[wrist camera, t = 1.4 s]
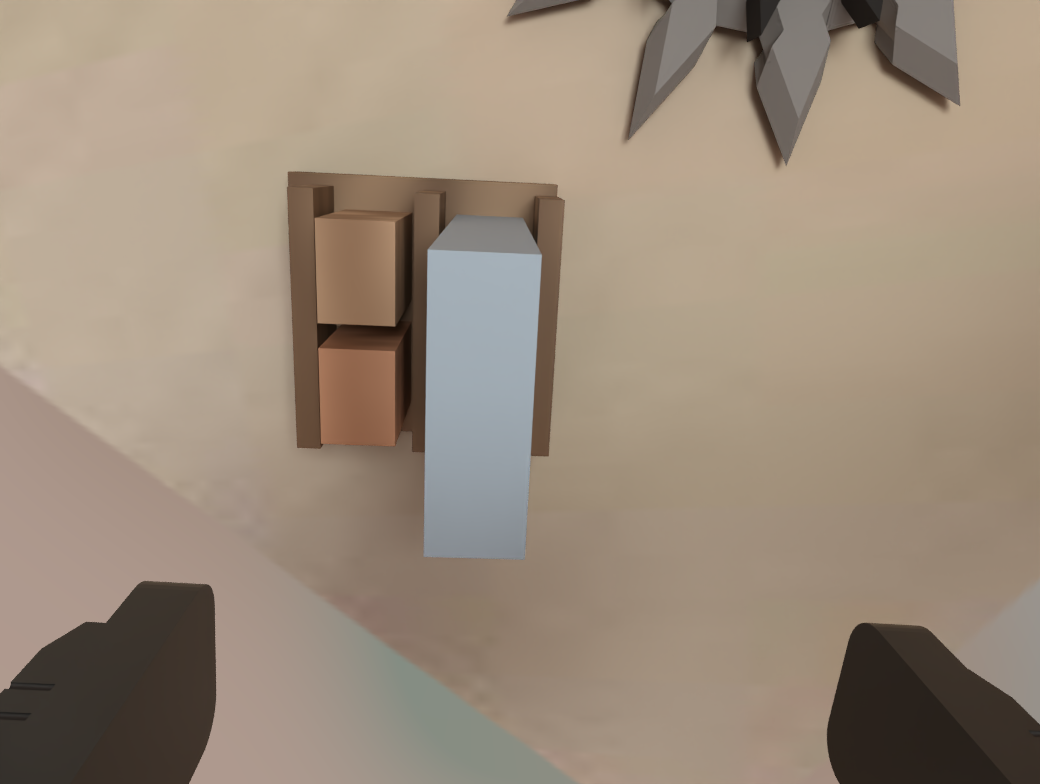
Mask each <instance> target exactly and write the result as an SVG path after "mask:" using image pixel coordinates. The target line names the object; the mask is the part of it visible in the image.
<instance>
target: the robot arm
mask: <svg viewBox="0 0 1040 784" xmlns="http://www.w3.org/2000/svg"><path fill="white" fill-rule="evenodd" d="M215 663H216V659H215V605H214V594H213V591H212V588H211V587H210V586H209V585H207V584H188V583H172V582H153V581H143V582H141V583H140V584H138V585H137V586H136V587H135V589H134V590H133V591H132V592H131V593H130V595H129V596H128V597H127V598H126V599H125V601H124V602H123V603H122V604H121V606H120V607H119V608H118V609H117V610H116V611H115V613H114V614H113V615H112V616H111V618H110V619H109V620H108V621H107V623H97V622H85V623H83V624H82V625H80V626H78V627H77V628H75V629H73V630H72V631H70V632H68V633H67V634H65V635H64V636H62V637H60V638H58V639H57V640H55V641H54V642H52V643H50V644H48V645H47V646H45V647H44V648H42V649H41V650H40V651H39V652H38V653H37V654H36V655H35V656H34V658H33V659H32V660H31V661H30V662H29V663H28V664H27V665H26V666H25V668H23V669H22V671H21V672H20V673H19V674H18V675H17V676H16V677H15V678H14V679H13V680H12V682H11V686H10V688H9V689H4V690H3V691H2V692H1V693H0V784H189V782H190V780H191V778H192V776H193V774H194V772H195V770H196V768H197V765H198V763H199V761H200V759H201V757H202V755H203V752H204V750H205V748H206V745H207V742H208V739H209V736H210V732H211V728H212V723H213V718H214V712H215V703H216V664H215ZM827 745H828V753H829V758H830V762H831V765H832V768H833V771H834V773H835V776H836V778H837V780H838V782H839V783H840V784H1040V724H1039V723H1037V721H1036V720H1035V719H1033V718H1032V717H1031V716H1030V715H1029V714H1028V713H1027V712H1026V711H1025V710H1024V709H1023V708H1022V707H1021V706H1020V705H1019V704H1018V703H1017V702H1016V701H1015V700H1014V699H1013V698H1012V697H1010V696H1009V695H1007V694H1006V693H1004V692H1003V691H1001V690H1000V689H998V688H997V687H995V686H994V685H992V684H990V683H989V682H987V681H985V680H984V679H983V678H981V677H980V676H978V675H977V674H975V673H974V672H972V671H970V670H969V669H967V668H966V667H965V666H964V665H963V664H962V663H961V662H960V661H959V660H958V659H957V658H956V657H955V656H954V655H953V654H952V653H951V652H950V651H949V650H948V649H947V648H946V647H945V646H944V645H943V644H942V643H941V642H940V641H939V640H938V639H937V638H936V637H935V636H934V635H933V633H931V632H930V631H929V630H928V629H926V628H924V627H921V626H912V625H894V624H876V623H861V624H859V625H858V626H856V627H855V628H854V630H853V631H852V633H851V635H850V638H849V642H848V646H847V650H846V654H845V658H844V662H843V666H842V670H841V674H840V678H839V682H838V686H837V690H836V694H835V698H834V702H833V706H832V710H831V714H830V718H829V722H828V728H827Z"/></svg>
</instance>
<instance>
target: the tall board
mask: <svg viewBox="0 0 1040 784" xmlns="http://www.w3.org/2000/svg"><path fill="white" fill-rule="evenodd" d="M541 261H542V254H541V252H540V250H539V248H538V246H537V244H536V242H535V240H534V239H533V237H532V235H531V233H530V231H529V229H528V227H527V225H526V223H525V221H524V219H523V218H518V217H497V216H476V215H456V216H455V217H454V218H453V220H452V221H451V222H450V223H449V224H448V226H447V227H446V228H445V229H444V230H443V232H442V233H441V234H440V235H439V236H438V238H437V239H436V240H435V241H434V242H433V244H432V245H431V246H430V247H429V249H428V262H427V339H426V415H425V491H424V557H448V558H483V559H519V560H525V546H526V528H527V510H528V493H529V475H530V457H531V439H532V421H533V404H534V386H535V368H536V350H537V332H538V314H539V297H540V279H541Z"/></svg>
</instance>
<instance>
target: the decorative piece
mask: <svg viewBox="0 0 1040 784" xmlns="http://www.w3.org/2000/svg"><path fill="white" fill-rule="evenodd" d="M572 1H577V0H516V2H515V3H514V5H513V7H512V8H511V10H510V12H509V14H508V15H507V16H511V15H515V14H520V13H524V12H529V11H533V10H537V9H542V8H546V7H550V6H555V5H559V4H564V3H568V2H572ZM669 1H670V2H671V3H672V4H671V6H670V7H669V9H668V10H667V12H666V13H665V15H664V16H662V17H661V18H660V19H659V20H658V21H657V22H656V24H655V26H654V28H653V30H652V32H651V34H650V36H649V37H648V39H647V43H646V49H645V54H644V59H643V64H642V70H641V75H640V80H639V86H638V91H637V96H636V101H635V107H634V112H633V117H632V123H631V128H630V133H629V138H628V140H629V139H630V138H631V136H632V135H633V134H634V133H635V132H636V131H637V130H638V129H639V128H640V126H641V125H642V124H643V123H644V122H645V121H646V120H647V119H648V117H649V116H650V115H651V114H652V113H653V112H654V111H655V110H656V109H657V107H658V106H659V105H660V104H661V103H662V102H663V101H664V100H665V98H666V97H667V96H668V95H669V94H670V93H671V92H672V91H673V90H674V88H675V87H676V86H677V85H678V84H679V83H680V82H681V81H682V80H683V78H684V77H685V76H686V75H687V74H688V73H689V72H690V71H691V69H692V68H693V67H694V66H695V64H696V62H697V61H698V59H699V57H700V55H701V53H702V51H703V49H704V48H705V46H706V44H707V42H708V40H709V38H710V36H711V35H712V33H713V31H714V29H715V27H716V26H720V27H725V28H730V29H734V30H739V31H743V32H747V42H748V41H751V40H753V39H755V38H757V37H759V38H760V41H761V44H762V47H763V51H762V52H761V54H760V55H759V57H758V58H757V59H756V61H755V62H754V66H755V76H756V86H757V90H758V92H759V95H760V98H761V100H762V103H763V106H764V108H765V111H766V114H767V116H768V119H769V122H770V124H771V127H772V130H773V132H774V135H775V138H776V140H777V143H778V145H779V148H780V151H781V153H782V156H783V159H784V161H785V164H786V165H787V163H788V160H789V158H790V156H791V153H792V151H793V148H794V146H795V143H796V141H797V139H798V136H799V134H800V131H801V129H802V126H803V124H804V121H805V119H806V117H807V114H808V112H809V109H810V107H811V104H812V102H813V100H814V97H815V95H816V92H817V90H818V87H819V85H820V82H821V79H822V75H823V71H824V67H825V63H826V58H827V54H828V50H829V46H830V42H831V40H830V37H829V34H828V31H829V30H832V29H836V28H840V27H843V26H847V25H851V24H854V23H855V24H856V25H857V27H858V28H862V27H865V26H867V25H870V24H873V23H875V22H876V23H877V27H876V35H875V44H876V45H877V46H878V47H879V49H880V50H881V51H882V52H883V54H884V55H885V56H886V57H887V58H888V60H889V61H890V62H891V63H892V65H894V66H896V67H897V68H899V69H900V70H902V71H904V72H905V73H907V74H909V75H910V76H912V77H913V78H915V79H917V80H918V81H920V82H921V83H923V84H925V85H926V86H928V87H930V88H931V89H933V90H934V91H936V92H938V93H939V94H941V95H943V96H944V97H946V98H947V99H949V100H951V101H952V102H954V103H955V104H957V105H959V106H960V95H959V80H958V64H957V49H956V33H955V18H954V3H953V0H669Z"/></svg>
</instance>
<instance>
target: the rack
mask: <svg viewBox="0 0 1040 784" xmlns="http://www.w3.org/2000/svg"><path fill="white" fill-rule="evenodd" d="M557 188H558V185H555V184H536V183H516V182H496V181H476V180H456V179H435V178H415V177H395V176H375V175H355V174H335V173H315V172H288V187H287V196H288V222H289V248H290V274H291V300H292V325H293V351H294V377H295V403H296V428H297V448H318V449H320V448H321V447H322V445H323V444H321V423H320V389H319V355H318V348H319V347H320V346H321V345H322V344H323V343H324V342H325V341H326V340H327V339H328V338H329V337H330V336H331V335H332V334H333V333H334V332H335V331H336V330H337V329H338V328H339V327H340V326H341V325H342V324H325V323H318V320H317V286H316V251H315V218H316V217H320V216H323V215H327V214H330V213H334V212H338V211H341V210H345V209H350V210H371V211H392V212H412V301H411V302H410V304H409V305H408V307H407V308H406V310H405V312H404V313H403V315H402V316H401V318H400V319H399V321H412V327H411V404H410V406H409V409H408V412H407V415H406V417H405V420H404V423H403V426H402V428H401V431H412V452H425V415H426V339H427V262H428V249H429V247H430V246H431V245H432V244H433V242H434V241H435V240H436V239H437V238H438V236H439V235H440V234H441V233H442V232H443V230H444V229H445V228H446V227H447V226H448V224H449V223H450V222H451V221H452V220H453V218H454V217H455V216H456V215H476V216H497V217H518V218H523V219H524V221H525V223H526V225H527V227H528V229H529V231H530V233H531V235H532V237H533V239H534V240H535V242H536V244H537V246H538V248H539V250H540V252H541V254H542V261H541V279H540V297H539V314H538V332H537V350H536V368H535V386H534V404H533V421H532V439H531V456H549V440H550V424H551V408H552V392H553V377H554V361H555V345H556V329H557V314H558V298H559V282H560V266H561V251H562V235H563V219H564V203H565V200H563V199H561V198H559V197H557Z"/></svg>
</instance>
